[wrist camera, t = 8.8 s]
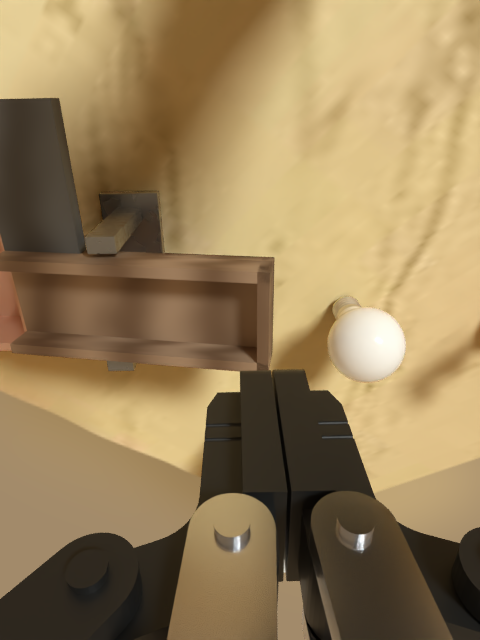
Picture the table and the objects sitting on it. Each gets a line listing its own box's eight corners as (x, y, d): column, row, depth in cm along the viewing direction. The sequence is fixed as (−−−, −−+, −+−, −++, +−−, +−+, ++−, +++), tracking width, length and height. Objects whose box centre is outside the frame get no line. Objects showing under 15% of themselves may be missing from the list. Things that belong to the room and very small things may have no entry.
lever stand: (158, 191, 38) (134, 219, 29) (171, 322, 44) (154, 381, 35) (101, 192, 38) (59, 221, 29) (122, 323, 44) (91, 382, 35)
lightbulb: (387, 311, 44) (431, 371, 34) (333, 344, 46) (361, 410, 36) (356, 263, 42) (393, 313, 32) (300, 300, 43) (320, 358, 33)
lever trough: (278, 94, 26) (273, 93, 23) (272, 351, 33) (268, 373, 31) (-25, 99, 29) (-62, 99, 26) (35, 334, 37) (12, 353, 34)
